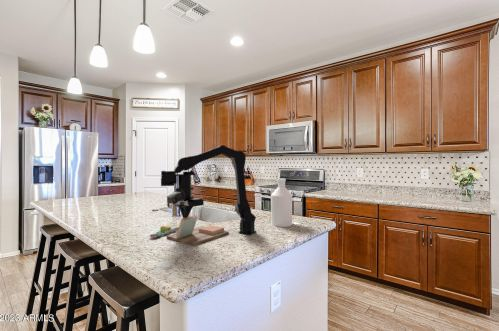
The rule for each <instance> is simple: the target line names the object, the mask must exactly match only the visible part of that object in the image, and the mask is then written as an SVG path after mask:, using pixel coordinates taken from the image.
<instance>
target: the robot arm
mask: <svg viewBox="0 0 499 331" xmlns="http://www.w3.org/2000/svg"><path fill="white" fill-rule="evenodd" d="M219 155H220V156H221V155H223V156H224V157H226V158H228V159H230V161H231V164H232V167H233V169H234V173H235V175H234V176H235V185H236V193H237V194H236V196H237V200H236V202H234V203H233V204H234V205H233V206H234V212H235V213H236V215H238V216H239V218H240V222H239V231H238V234H243V235H252V234H255V233H257V230H256V229H255V228H256V227H255V222H256V219H257V217H256V216H255V215H254V213H252V210H251V209H252V208H251V206H250V203H249V201H248V198H247V196H248V195H247V188H246V180H245V179H246V178H245V167H246V166H245V165H246V157H247V156H246V154H245V152H244V151H242V150H236V149H234V148H231V147H228V146H226V145H224V144H223V145H222V144H221V145H219V146H218V147H214V148H211V149H210V150H207V151H204V152H201V153H198V154H195V155H191V156H187V157H185V156H184V157H180V158H179V159H178V161H177V165H176V167H175V168H174V170H161V171H160V173H161V174H160V176H161V178H160V187H174V186H175V184H177V183H178V184H177V187H176V188H175V191H174V192H173V193H170V194H169V195H166V204H172V205H174V206H175V207H177V208H178V209H179V210H180V212H181V213H180V214H181V216H182V218H186V217H190V214H191V211H192V210H193V208H194V207H198V206H204V205H205V204H204V202H205V200H204V199H203V198H200V197H196V198H194V196H192V191H193V190H194V187H193V186H192V176H196V173H195V172H194V171H193V170H192V168H194V167H195V166H196V165H199V164H200V163H202V162H205V161H207V160H209V159H212V158H215V157H218V156H219ZM188 170H189V171H188ZM181 172H182V173H181Z"/></svg>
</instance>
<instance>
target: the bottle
mask: <svg viewBox="0 0 499 331" xmlns="http://www.w3.org/2000/svg"><path fill="white" fill-rule="evenodd" d="M286 180H287V178H277V187H276V189H274V191H273V192H272V193H270V220H271V223H270V224H271V225H272V226H274V227H280V228H282V227H284V228H285V227H286V228H287V227H291V226H292V225H293V194H292V193H291V192H290V191H289V190H288V189H287V187H286Z"/></svg>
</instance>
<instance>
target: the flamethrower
mask: <svg viewBox="0 0 499 331" xmlns="http://www.w3.org/2000/svg"><path fill="white" fill-rule="evenodd" d="M178 228H179V226H177V227H175V228H172V227H171V226H166V225H161V226H160V230H158V231H156V232H155V233H153V234H152V233H151V234H150V235H149V237H150V238H153V239H155V238H159V237H161V236H162V237H165V236H167V235H168V234H169V235H170V234H175V233H177V232H178Z"/></svg>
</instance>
